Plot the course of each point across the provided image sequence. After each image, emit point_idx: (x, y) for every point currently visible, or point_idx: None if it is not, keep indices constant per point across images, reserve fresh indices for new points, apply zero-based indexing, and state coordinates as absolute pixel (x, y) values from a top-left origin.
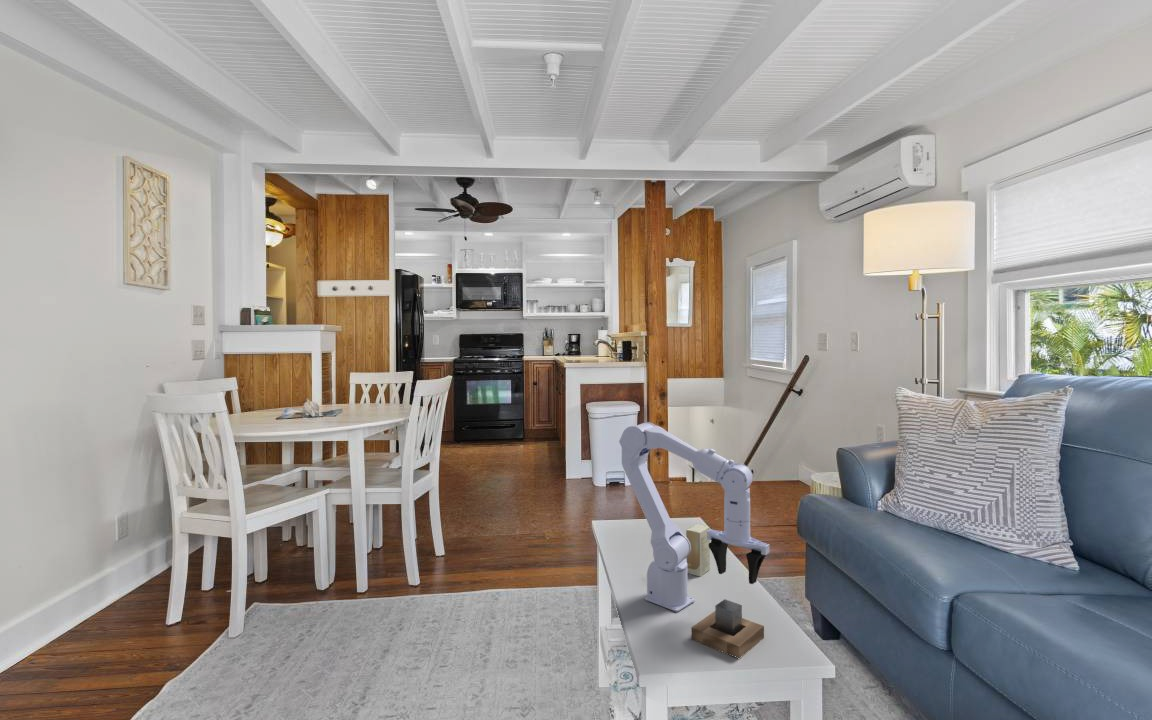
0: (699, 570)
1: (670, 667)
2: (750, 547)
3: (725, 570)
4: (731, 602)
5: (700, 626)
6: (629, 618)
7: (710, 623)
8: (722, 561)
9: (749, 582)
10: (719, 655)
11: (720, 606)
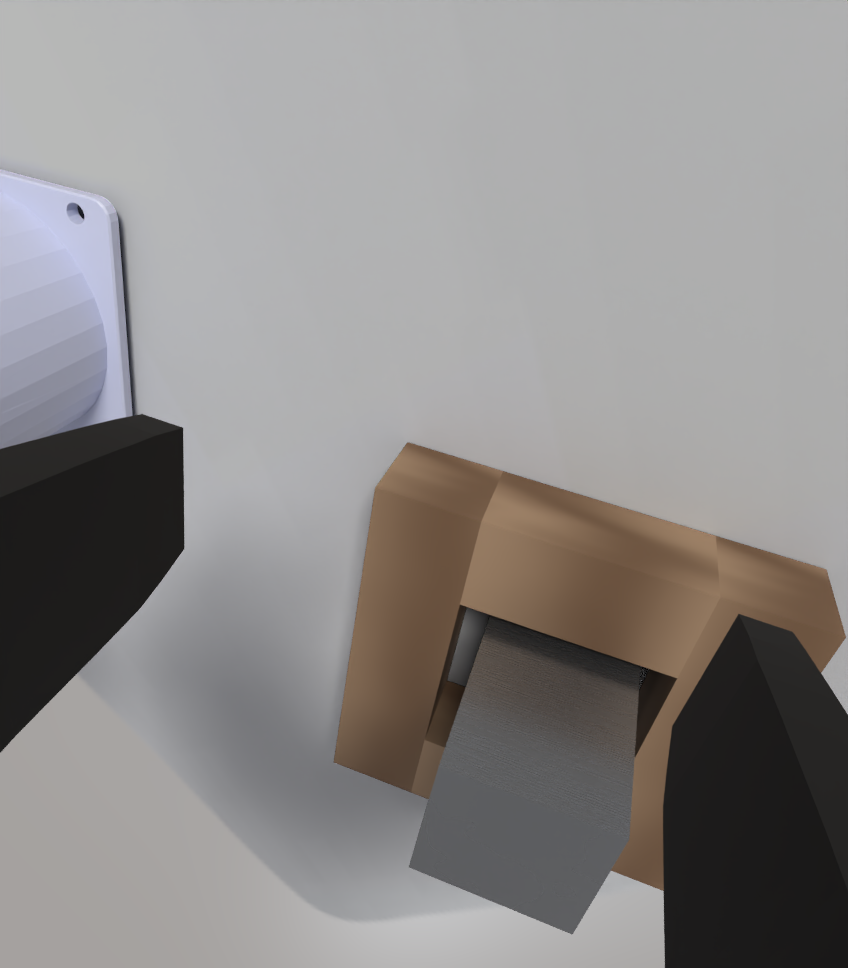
0: None
1: (387, 897)
2: None
3: (167, 437)
4: (517, 808)
5: (375, 747)
6: None
7: (414, 700)
8: (23, 629)
9: (676, 748)
10: None
11: (451, 875)
